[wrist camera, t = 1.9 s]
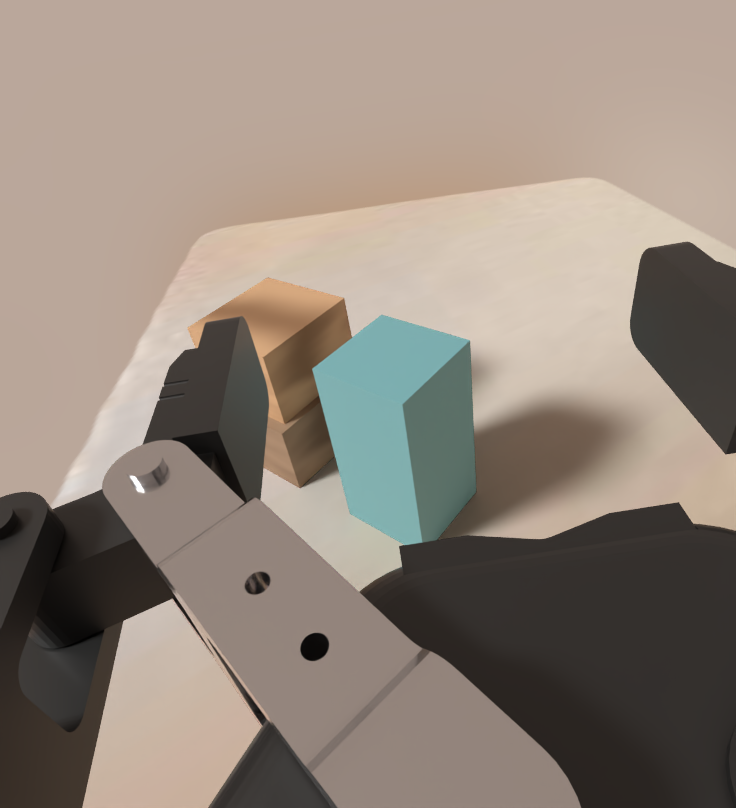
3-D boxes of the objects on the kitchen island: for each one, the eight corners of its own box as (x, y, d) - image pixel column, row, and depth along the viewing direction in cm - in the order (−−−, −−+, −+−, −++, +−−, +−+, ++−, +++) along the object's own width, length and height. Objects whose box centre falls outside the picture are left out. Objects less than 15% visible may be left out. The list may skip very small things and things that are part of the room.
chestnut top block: (285, 338, 42) (267, 277, 39) (357, 363, 38) (344, 298, 35) (213, 390, 38) (187, 327, 35) (284, 424, 34) (262, 357, 31)
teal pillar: (403, 458, 37) (381, 314, 31) (476, 491, 34) (469, 340, 27) (350, 513, 34) (312, 368, 28) (424, 556, 31) (402, 404, 24)
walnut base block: (300, 386, 46) (285, 334, 43) (376, 419, 41) (366, 363, 38) (224, 446, 41) (201, 393, 38) (300, 490, 37) (281, 434, 34)
